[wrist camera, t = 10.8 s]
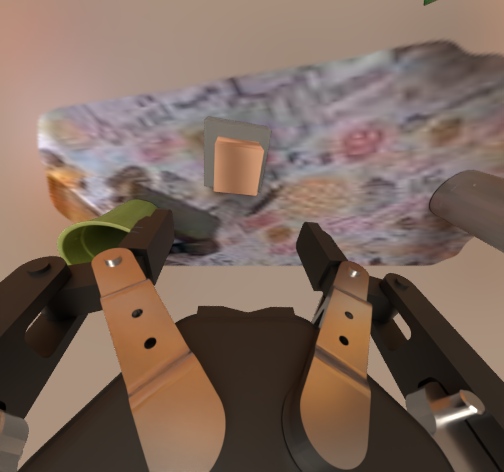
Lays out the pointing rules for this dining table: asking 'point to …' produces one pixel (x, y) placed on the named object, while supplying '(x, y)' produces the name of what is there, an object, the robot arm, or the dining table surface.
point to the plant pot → (101, 232)
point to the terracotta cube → (237, 166)
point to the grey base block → (236, 131)
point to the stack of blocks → (428, 2)
